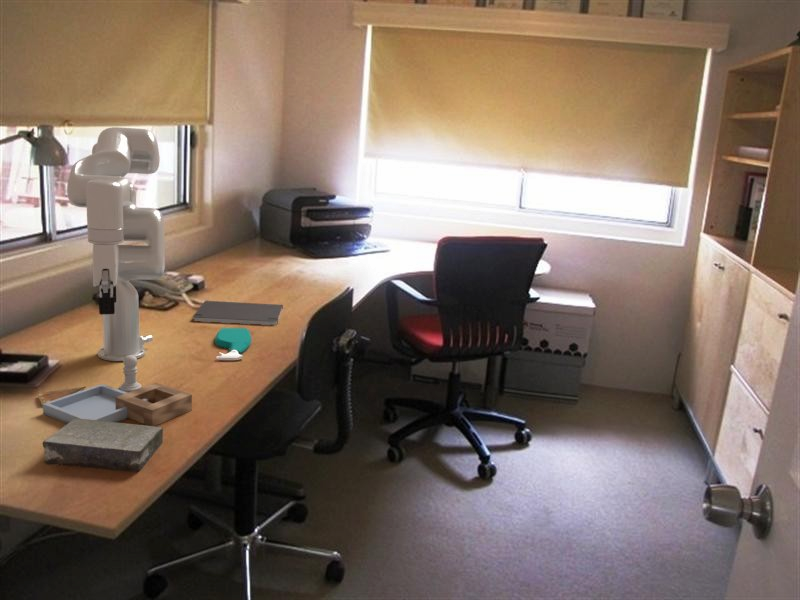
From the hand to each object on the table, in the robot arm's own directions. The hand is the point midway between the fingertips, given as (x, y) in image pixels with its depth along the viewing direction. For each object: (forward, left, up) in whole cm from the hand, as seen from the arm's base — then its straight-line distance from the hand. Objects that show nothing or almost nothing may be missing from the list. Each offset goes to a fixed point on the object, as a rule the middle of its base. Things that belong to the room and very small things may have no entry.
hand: (108, 308), depth 166 cm
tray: (+5, +2, -24) cm, 24 cm away
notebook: (-78, -28, -24) cm, 86 cm away
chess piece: (-9, -3, -24) cm, 26 cm away
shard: (+5, -12, -24) cm, 28 cm away
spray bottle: (-49, -6, -24) cm, 56 cm away
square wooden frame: (-3, +12, -24) cm, 26 cm away
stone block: (+17, +20, -24) cm, 36 cm away
